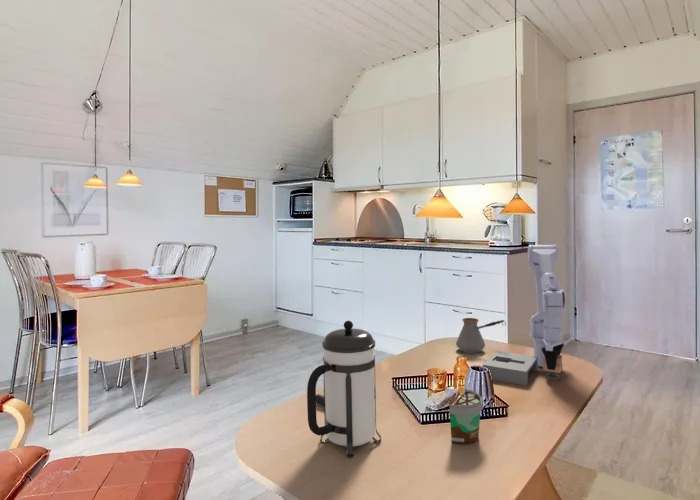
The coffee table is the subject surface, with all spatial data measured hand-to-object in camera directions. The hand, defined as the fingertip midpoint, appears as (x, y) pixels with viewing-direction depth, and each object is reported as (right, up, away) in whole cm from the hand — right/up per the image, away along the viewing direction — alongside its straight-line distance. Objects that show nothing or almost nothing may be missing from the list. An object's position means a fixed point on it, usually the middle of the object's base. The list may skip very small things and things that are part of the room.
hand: (552, 366), depth 150 cm
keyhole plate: (-12, -4, +6) cm, 14 cm away
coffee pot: (-15, -3, +30) cm, 33 cm away
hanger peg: (0, -4, 0) cm, 4 cm away
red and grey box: (-69, -7, -15) cm, 70 cm away
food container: (-38, -8, -39) cm, 55 cm away
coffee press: (-68, -8, -41) cm, 80 cm away
